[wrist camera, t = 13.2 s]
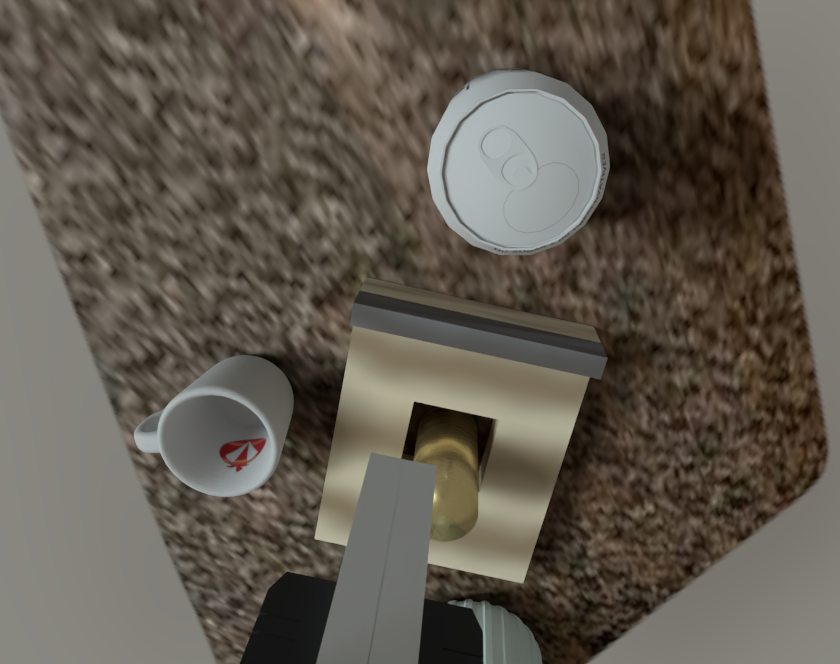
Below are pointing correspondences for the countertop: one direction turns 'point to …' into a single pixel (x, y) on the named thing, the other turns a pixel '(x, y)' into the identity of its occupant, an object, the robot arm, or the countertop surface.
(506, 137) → the supplement can
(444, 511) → the brass cylinder
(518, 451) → the jig
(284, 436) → the cup
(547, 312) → the countertop surface
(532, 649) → the vase
